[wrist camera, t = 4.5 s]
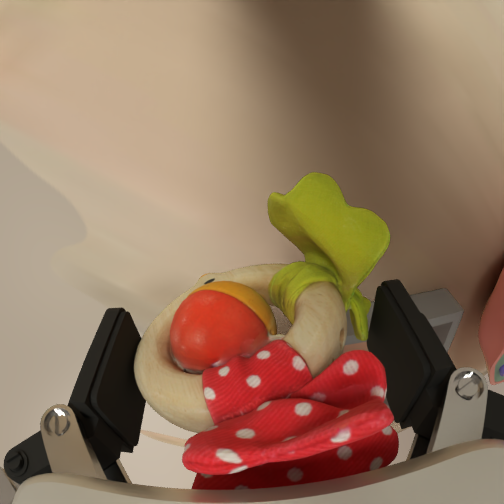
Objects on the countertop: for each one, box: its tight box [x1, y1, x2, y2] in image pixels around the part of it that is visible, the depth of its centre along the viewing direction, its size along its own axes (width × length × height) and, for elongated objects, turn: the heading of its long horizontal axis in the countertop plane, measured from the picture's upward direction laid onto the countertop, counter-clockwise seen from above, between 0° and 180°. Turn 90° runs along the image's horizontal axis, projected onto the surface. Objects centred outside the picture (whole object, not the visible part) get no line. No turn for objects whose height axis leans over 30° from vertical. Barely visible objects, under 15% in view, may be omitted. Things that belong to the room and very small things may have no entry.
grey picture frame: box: [342, 288, 464, 409], centre depth 27 cm, size 15×13×4 cm
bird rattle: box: [134, 172, 399, 490], centre depth 9 cm, size 6×11×9 cm
